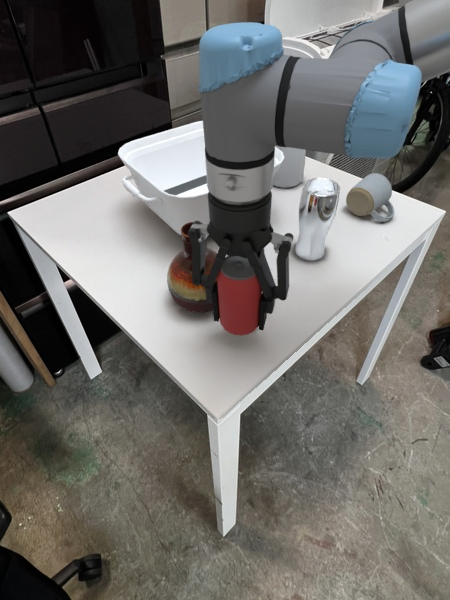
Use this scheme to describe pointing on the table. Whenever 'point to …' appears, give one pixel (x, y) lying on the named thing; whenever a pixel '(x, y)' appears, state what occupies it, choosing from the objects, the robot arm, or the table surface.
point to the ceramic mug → (371, 197)
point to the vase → (188, 276)
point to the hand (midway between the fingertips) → (240, 319)
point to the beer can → (238, 296)
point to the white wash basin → (173, 174)
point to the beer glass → (316, 216)
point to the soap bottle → (290, 167)
